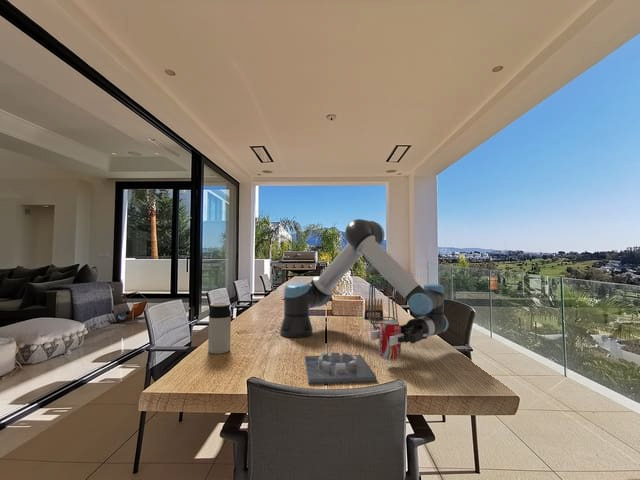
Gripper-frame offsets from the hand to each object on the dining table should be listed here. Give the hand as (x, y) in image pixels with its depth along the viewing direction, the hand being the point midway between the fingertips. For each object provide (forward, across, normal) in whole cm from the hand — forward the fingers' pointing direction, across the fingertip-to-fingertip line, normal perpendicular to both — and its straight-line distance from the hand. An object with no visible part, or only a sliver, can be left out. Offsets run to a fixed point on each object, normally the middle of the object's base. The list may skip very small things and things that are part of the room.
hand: (380, 338), depth 103 cm
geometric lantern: (-43, +34, -11) cm, 56 cm away
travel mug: (+32, +52, -11) cm, 62 cm away
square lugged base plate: (+11, +9, -10) cm, 17 cm away
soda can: (-5, 0, -8) cm, 9 cm away
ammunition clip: (-60, +53, -11) cm, 81 cm away
